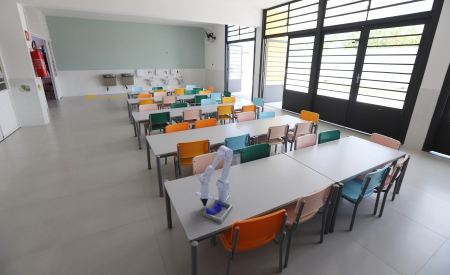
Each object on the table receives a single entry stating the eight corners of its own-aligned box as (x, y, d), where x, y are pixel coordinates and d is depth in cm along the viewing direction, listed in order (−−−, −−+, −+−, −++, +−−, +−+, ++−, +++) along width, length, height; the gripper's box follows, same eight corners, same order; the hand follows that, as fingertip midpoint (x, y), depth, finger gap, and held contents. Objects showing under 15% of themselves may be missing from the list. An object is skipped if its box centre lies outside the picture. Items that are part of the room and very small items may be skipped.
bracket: (215, 201, 172) (215, 199, 171) (232, 207, 166) (232, 204, 165) (203, 215, 157) (203, 213, 156) (221, 222, 151) (221, 219, 150)
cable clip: (218, 206, 167) (218, 200, 165) (221, 210, 164) (221, 203, 161) (205, 213, 159) (204, 206, 157) (208, 217, 156) (208, 210, 154)
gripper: (193, 190, 160) (193, 205, 165) (210, 195, 154) (210, 211, 159) (198, 185, 166) (198, 200, 171) (215, 190, 160) (215, 205, 165)
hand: (204, 205), depth 166 cm, fingers closed
